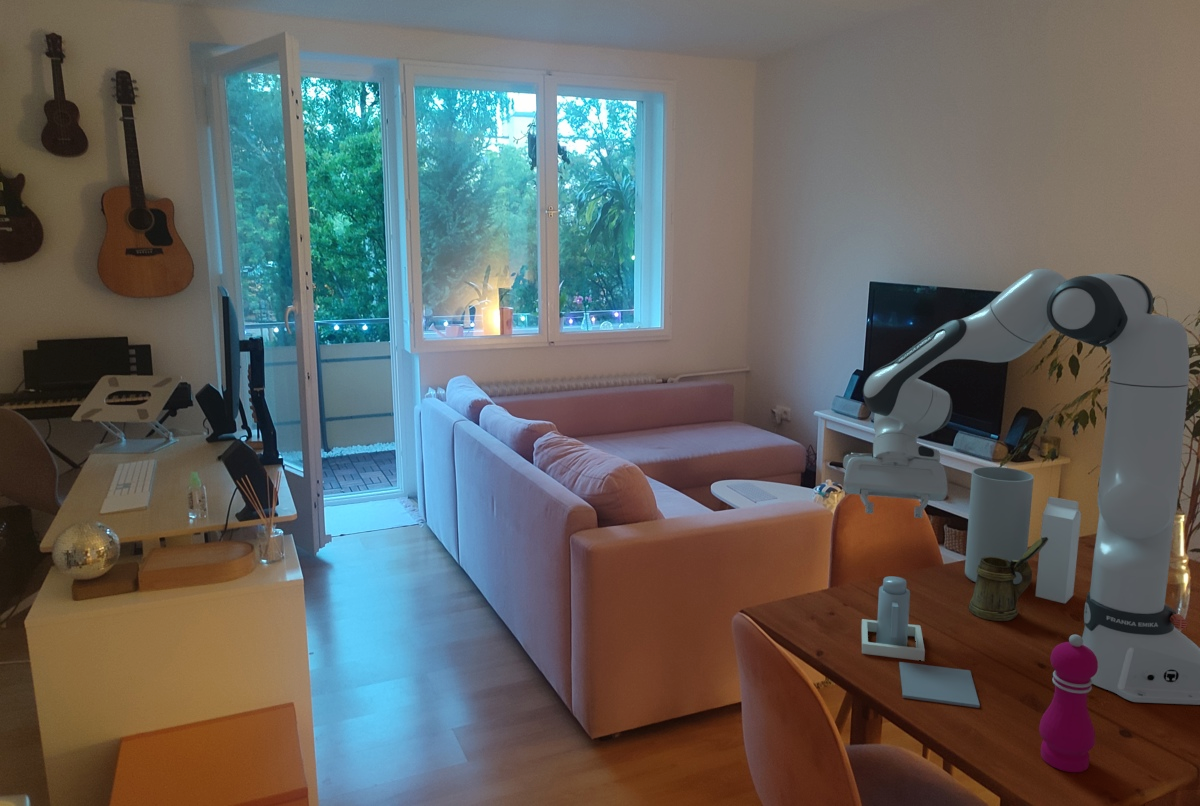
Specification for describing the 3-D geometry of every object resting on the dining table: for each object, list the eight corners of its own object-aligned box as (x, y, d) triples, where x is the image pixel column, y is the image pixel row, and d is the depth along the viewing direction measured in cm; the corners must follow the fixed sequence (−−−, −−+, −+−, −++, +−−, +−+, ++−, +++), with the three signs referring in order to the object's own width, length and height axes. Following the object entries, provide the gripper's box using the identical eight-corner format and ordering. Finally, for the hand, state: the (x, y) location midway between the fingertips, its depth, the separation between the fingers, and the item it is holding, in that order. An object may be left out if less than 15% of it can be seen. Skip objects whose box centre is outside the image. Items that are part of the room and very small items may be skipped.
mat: (970, 673, 149) (970, 670, 149) (979, 708, 138) (979, 705, 138) (899, 664, 152) (899, 661, 152) (902, 697, 141) (903, 694, 141)
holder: (919, 634, 164) (920, 625, 163) (924, 661, 153) (924, 651, 153) (861, 628, 167) (861, 619, 167) (862, 653, 157) (862, 643, 156)
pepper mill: (1064, 779, 119) (1077, 649, 116) (1025, 750, 126) (1036, 627, 122) (1104, 769, 121) (1118, 642, 117) (1064, 742, 128) (1076, 621, 124)
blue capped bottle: (906, 639, 162) (909, 576, 160) (908, 658, 154) (912, 593, 152) (875, 636, 164) (879, 573, 161) (877, 655, 156) (880, 589, 154)
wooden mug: (1039, 630, 165) (1047, 544, 162) (966, 615, 172) (972, 533, 169) (1042, 613, 173) (1049, 530, 170) (971, 600, 180) (977, 520, 176)
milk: (1043, 588, 185) (1052, 493, 182) (1073, 596, 181) (1082, 498, 178) (1034, 596, 181) (1043, 499, 177) (1065, 604, 177) (1074, 504, 173)
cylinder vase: (984, 564, 200) (992, 464, 195) (1035, 581, 189) (1045, 475, 185) (953, 576, 193) (960, 472, 188) (1004, 594, 183) (1013, 484, 178)
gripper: (844, 444, 176) (840, 502, 168) (947, 451, 170) (949, 511, 163) (843, 459, 181) (839, 516, 173) (943, 467, 175) (945, 526, 168)
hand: (893, 514), depth 168 cm, fingers open, 8 cm apart
